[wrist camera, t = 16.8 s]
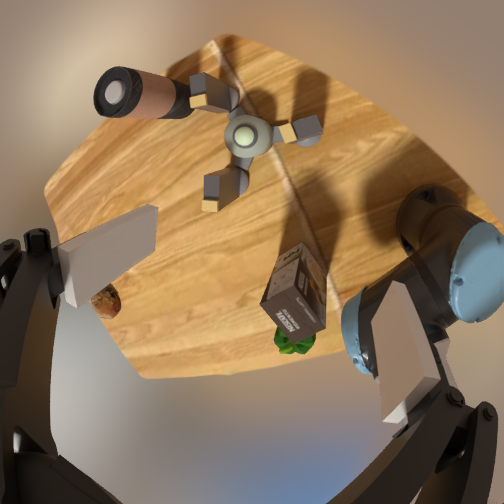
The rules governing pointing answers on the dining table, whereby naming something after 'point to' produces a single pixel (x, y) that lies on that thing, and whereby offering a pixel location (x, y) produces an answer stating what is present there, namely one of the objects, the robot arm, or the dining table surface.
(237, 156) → the tribrach hub
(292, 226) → the dining table surface
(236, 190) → the grey block tan end
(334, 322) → the dining table surface
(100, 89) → the travel mug
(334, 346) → the dining table surface
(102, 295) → the bread roll
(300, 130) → the dark grey upright block
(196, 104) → the grey post tan tip
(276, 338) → the bell pepper
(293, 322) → the coffee box
